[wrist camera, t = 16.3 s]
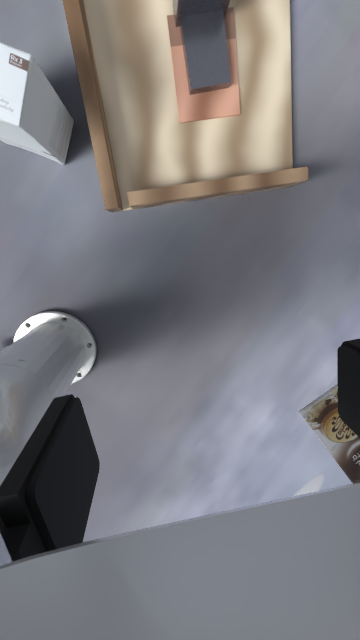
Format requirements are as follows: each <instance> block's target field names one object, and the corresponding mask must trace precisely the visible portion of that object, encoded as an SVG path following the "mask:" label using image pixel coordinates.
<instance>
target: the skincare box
mask: <svg viewBox="0 0 360 640" xmlns="http://www.w3.org/2000/svg"><path fill="white" fill-rule="evenodd" d="M73 124H74V120H73V118H72V117H71V115H70V114H69V112H68V111H67V109H66V107H65V106H64V104H63V103H62V101H61V100H60V98H59V97H58V95H57V93H56V92H55V90H54V89H53V87H52V86H51V84H50V83H49V81H48V79H47V78H46V76H45V75H44V73H43V71H42V70H41V68H40V67H39V65H38V64H37V62H36V61H35V59H34V57H33V56H32V55H31V54H29V53H27V52H24V51H22V50H19V49H17V48H14V47H12V46H9V45H7V44H5V43H2V42H0V140H1V141H3V142H4V143H6V144H9V145H13V146H17V147H20V148H22V149H25V150H28V151H31V152H34V153H36V154H39V155H41V156H44V157H46V158H49V159H51V160H54V161H56V162H58V163H60V164H63V165H65V161H66V156H67V151H68V147H69V142H70V138H71V133H72V128H73Z"/></svg>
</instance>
